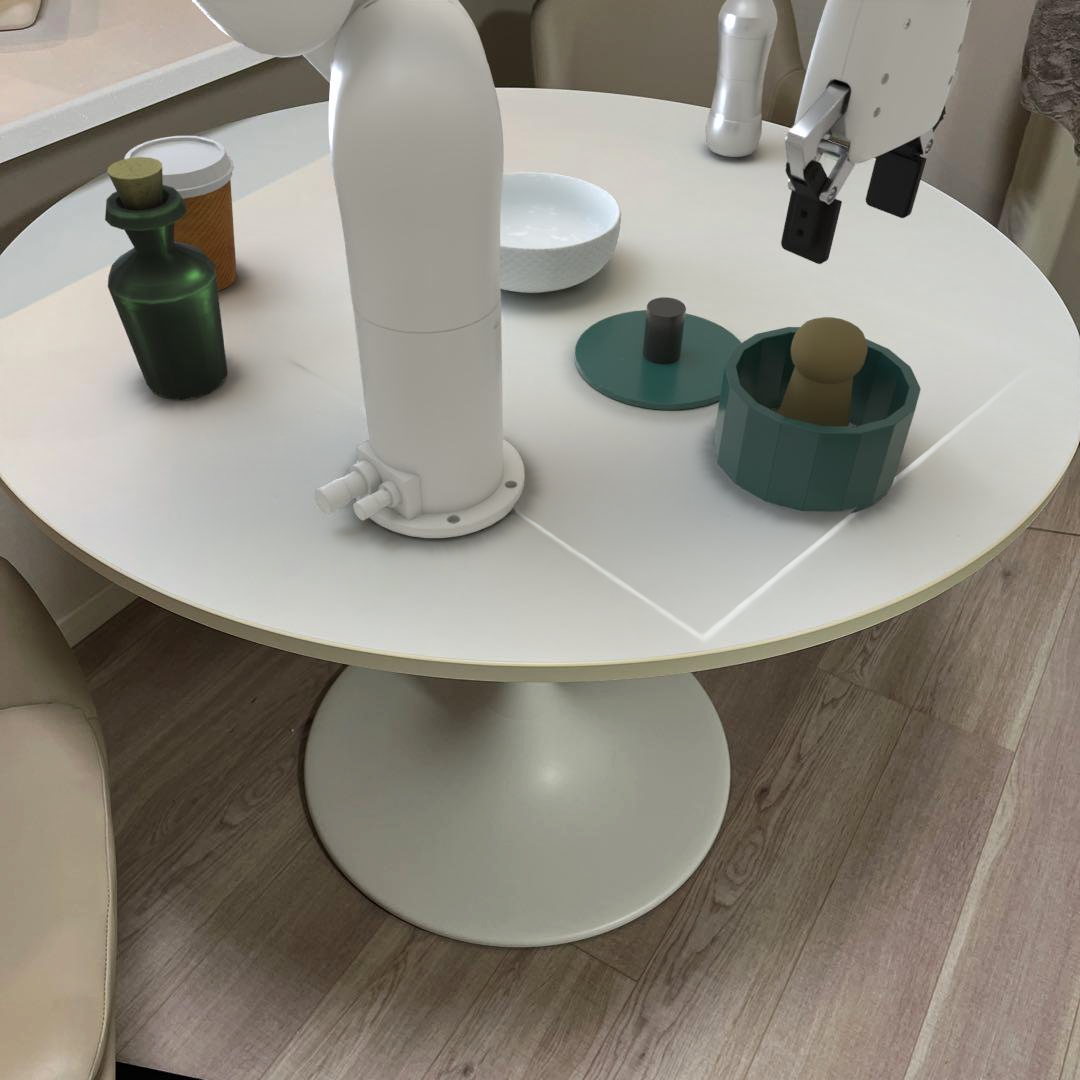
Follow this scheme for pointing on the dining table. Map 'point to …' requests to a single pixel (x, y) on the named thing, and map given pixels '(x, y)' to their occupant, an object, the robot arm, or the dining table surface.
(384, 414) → the robot arm
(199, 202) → the disposable coffee cup
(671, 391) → the lid
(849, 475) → the pot
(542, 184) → the cereal bowl
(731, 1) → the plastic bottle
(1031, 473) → the dining table surface
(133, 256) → the potion bottle
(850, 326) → the olive brown pawn
